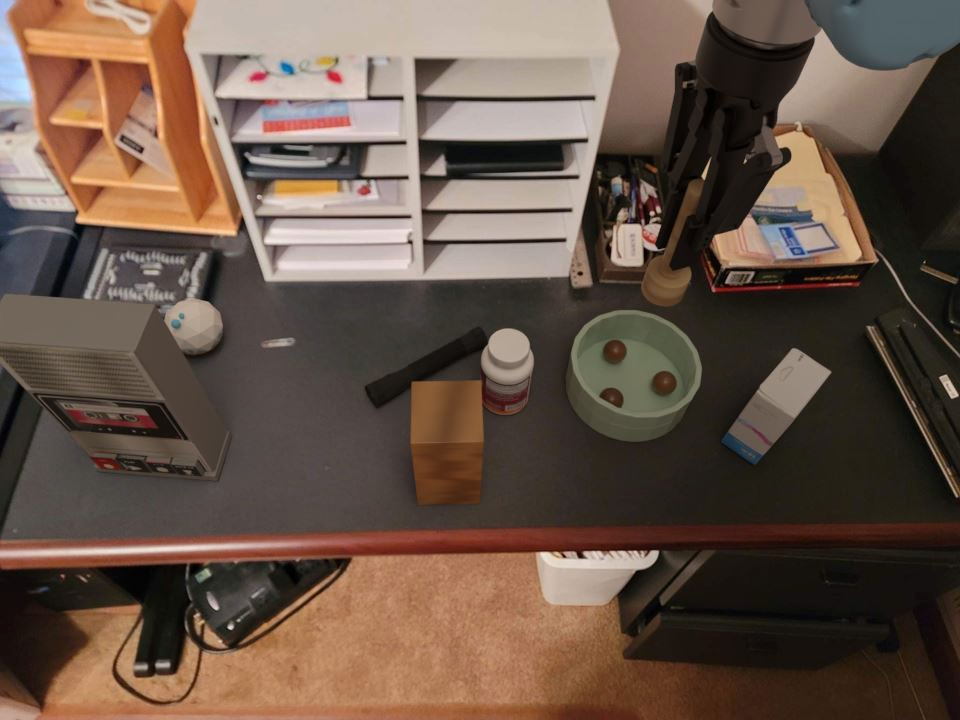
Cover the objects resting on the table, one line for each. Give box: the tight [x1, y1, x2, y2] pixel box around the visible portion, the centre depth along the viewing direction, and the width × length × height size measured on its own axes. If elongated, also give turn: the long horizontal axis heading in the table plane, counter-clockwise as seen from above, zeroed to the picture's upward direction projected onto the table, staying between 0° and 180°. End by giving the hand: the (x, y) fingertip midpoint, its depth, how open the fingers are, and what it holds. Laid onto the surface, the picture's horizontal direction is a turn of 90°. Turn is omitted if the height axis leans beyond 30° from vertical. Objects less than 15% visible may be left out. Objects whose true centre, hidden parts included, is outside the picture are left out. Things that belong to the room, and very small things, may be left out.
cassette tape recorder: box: [0, 293, 233, 482], centre depth 71 cm, size 14×6×25 cm, turn 86°
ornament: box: [163, 297, 224, 356], centre depth 87 cm, size 7×7×8 cm
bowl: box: [564, 309, 703, 443], centre depth 85 cm, size 15×15×6 cm
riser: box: [409, 379, 485, 506], centre depth 74 cm, size 7×7×15 cm
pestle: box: [640, 178, 705, 308], centre depth 67 cm, size 4×4×14 cm
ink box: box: [720, 347, 832, 466], centre depth 80 cm, size 9×5×12 cm, turn 137°
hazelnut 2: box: [599, 387, 624, 408], centre depth 84 cm, size 3×3×3 cm
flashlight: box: [364, 325, 489, 408], centre depth 87 cm, size 3×16×3 cm, turn 125°
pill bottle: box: [479, 327, 535, 416], centre depth 82 cm, size 6×6×11 cm
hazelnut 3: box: [652, 371, 677, 395], centre depth 86 cm, size 3×3×3 cm
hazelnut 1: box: [603, 340, 627, 363], centre depth 88 cm, size 3×3×3 cm
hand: (675, 254), depth 68 cm, fingers closed on pestle, 2 cm apart
